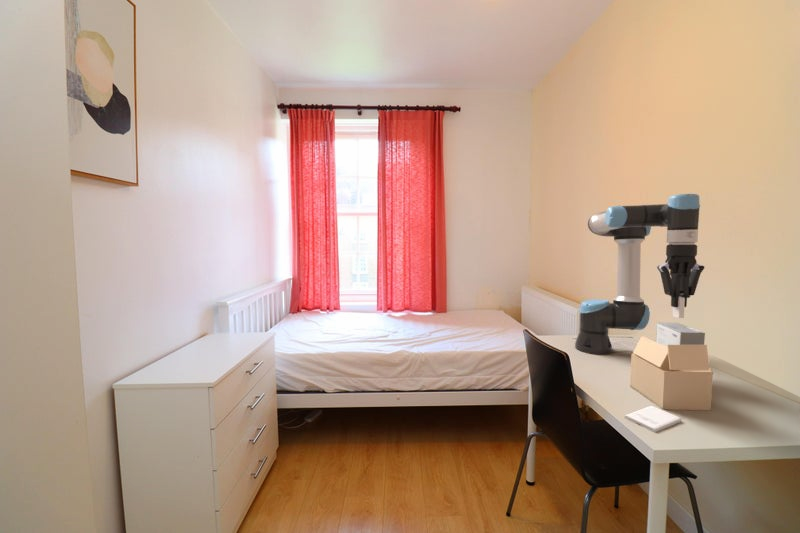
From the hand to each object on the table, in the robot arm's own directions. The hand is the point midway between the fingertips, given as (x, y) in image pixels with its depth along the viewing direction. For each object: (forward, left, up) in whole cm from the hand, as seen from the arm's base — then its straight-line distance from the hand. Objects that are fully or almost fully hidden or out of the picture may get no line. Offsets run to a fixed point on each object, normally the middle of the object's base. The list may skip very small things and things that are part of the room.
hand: (678, 317), depth 108 cm
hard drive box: (-14, +11, -27) cm, 33 cm away
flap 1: (0, -8, -11) cm, 14 cm away
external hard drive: (+14, -16, -28) cm, 35 cm away
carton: (0, -2, -27) cm, 27 cm away
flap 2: (+7, -2, -11) cm, 13 cm away
